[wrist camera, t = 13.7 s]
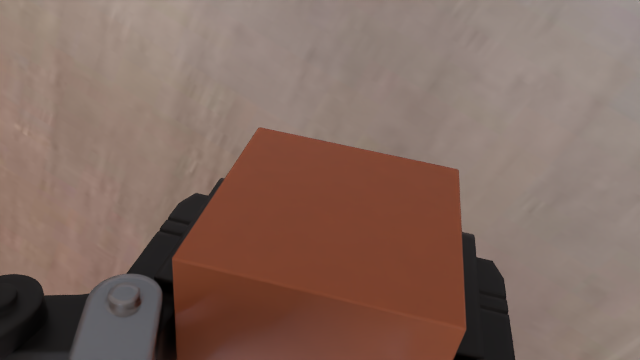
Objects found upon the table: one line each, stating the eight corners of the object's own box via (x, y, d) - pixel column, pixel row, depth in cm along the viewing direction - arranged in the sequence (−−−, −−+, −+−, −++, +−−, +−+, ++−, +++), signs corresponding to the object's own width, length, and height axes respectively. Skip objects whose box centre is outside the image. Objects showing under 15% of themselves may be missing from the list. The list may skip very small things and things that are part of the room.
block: (258, 126, 12) (170, 257, 8) (459, 168, 11) (467, 329, 8) (248, 271, 14) (178, 423, 11) (412, 310, 14) (400, 484, 10)
